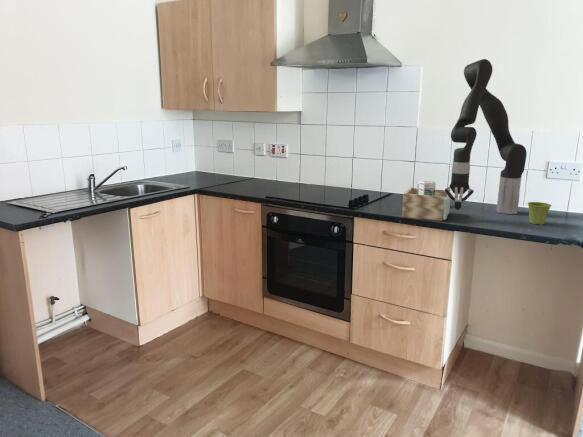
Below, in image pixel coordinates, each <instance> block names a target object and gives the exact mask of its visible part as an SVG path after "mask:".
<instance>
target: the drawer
mask: <svg viewBox="0 0 583 437" xmlns="http://www.w3.org/2000/svg"><path fill="white" fill-rule="evenodd" d="M450 206H451V199H450V197H449V196H448V195H447V196H446V197H445V198H444V210H443V221H446V220H447V218H448V216H449V213H450Z"/></svg>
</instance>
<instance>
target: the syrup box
mask: <svg viewBox="0 0 583 437" xmlns="http://www.w3.org/2000/svg"><path fill="white" fill-rule="evenodd" d="M418 182H419V195H429V196H435V190H436V185H437V184H436V182H435V181H433V180H419V181H418Z"/></svg>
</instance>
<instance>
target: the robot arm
mask: <svg viewBox="0 0 583 437" xmlns="http://www.w3.org/2000/svg"><path fill="white" fill-rule="evenodd" d="M492 74H493V65H492V62H491V61H490V60H488V59H486V58H483V59H479V60H476V61H474V62H472V63H470V64H469V63H468V64H467V65H465V67H464V69H463V76H464V79H465V81H466V84H467V85H468V86H469V88H470V92H469V93H468V94H467V96H466V97H465V99H464V101H463V103H462V106H461V110H460V113H459V117H458V119H457V121H456V122H455V125H454V126H453V128H452V130H451V131H450V132H451V133H450V139H451V140H452V142H453V143H459V144H465V145H464V146H463V147H458V148H455V149H454V151H453V160H452V166H451V178H450V184H449V186H448V187H446V188H445V189H444V190H445V192H446V193H447V195H448V196H449V197H450V201H453V202H454V209H455V210H456V211H458V210H459V211H460V210H461V209H462V203H463V202H465V201H467V199H469V198H470V197H471V196H472V195H473V193H474V189H472V188H471V187H470V180H469V179H470V170H471V154H472V148H473V146H474V143H475V140H476V138H477V133H478V132H477V129H476V128H475V127H473V126H469V125H473V124H474V123H475V122H476V120H477V116H478V112H479V107H480V109H481V112H482V114H483V116H484V118H485V121H486V123H487V126H488V127H489V129H490V132H491V134H492V135H493V138H494V140H495V144H496V146H497V149H498V153H499V156H500V157H501V159H502V160H503V161H505V166H504V168H503V169H502V170H501V171H500V176H499V184H498V185H499V186H498V194H497V203H496V212H497V213H499V214H504V215H505V214H506V215H517V214H518V212H519V211H518V210H519V204H520V203H519V201H520V196H521V195H520V192H521V184H522V183H521V182H522V176H523V173H524V171H525V167H526V160H527V154H528V153H527V149H526V147H525V146H524V145H523V144H520V143H516V142H515V141H514V139H513V137H512V135H511V133H510V128H509V115H508V113H507V110H506V108H505V106H504V104H503V102H502V101H501V100H500V99H499V98H498V97H497V96H495V95H494V94H493V93H491V92H490V91H489V90H488V89H487V87H488V84H489V82H490V79H491V77H492ZM466 192H467V194H466ZM452 193H453V194H454V195H453V194H452ZM464 194H466V195H465V196H463V195H464Z"/></svg>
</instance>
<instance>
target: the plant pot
mask: <svg viewBox="0 0 583 437" xmlns="http://www.w3.org/2000/svg"><path fill="white" fill-rule="evenodd" d="M527 205H528V222H529V223H530V224H533V225H541V226H542V225H543V226H544V225H545V224H546V220H547V216H548V213H549V210H550V209H551V207H552V204H550V203H547V202H539V201H529V202H527Z"/></svg>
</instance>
